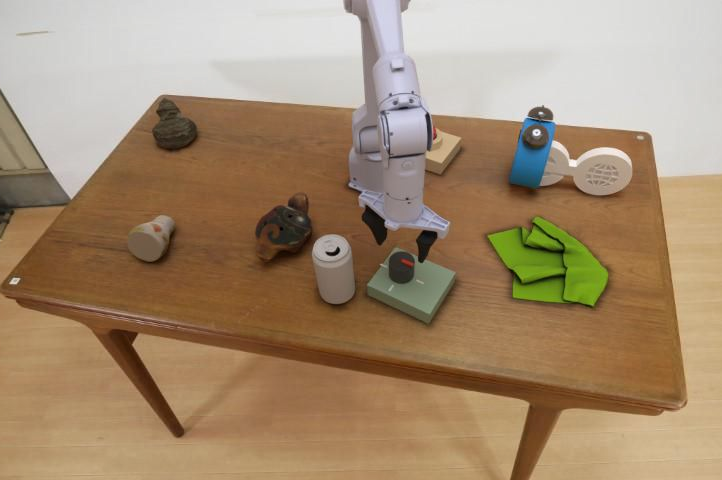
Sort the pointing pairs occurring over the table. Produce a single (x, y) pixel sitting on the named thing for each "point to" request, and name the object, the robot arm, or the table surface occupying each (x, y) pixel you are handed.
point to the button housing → (442, 152)
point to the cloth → (550, 265)
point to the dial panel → (413, 288)
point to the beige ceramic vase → (151, 238)
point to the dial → (401, 267)
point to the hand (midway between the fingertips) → (402, 249)
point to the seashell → (172, 126)
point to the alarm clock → (533, 148)
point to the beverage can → (334, 268)
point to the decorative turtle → (284, 228)
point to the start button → (434, 132)
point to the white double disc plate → (589, 169)
